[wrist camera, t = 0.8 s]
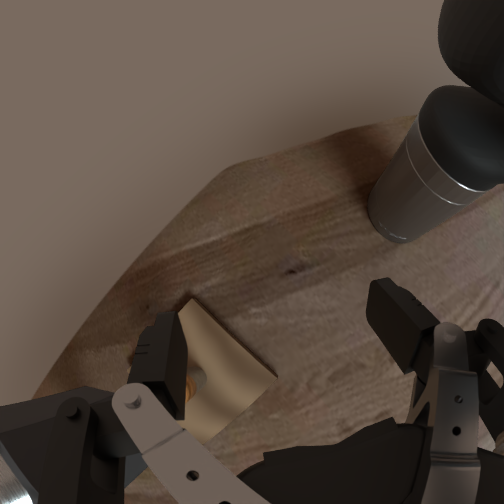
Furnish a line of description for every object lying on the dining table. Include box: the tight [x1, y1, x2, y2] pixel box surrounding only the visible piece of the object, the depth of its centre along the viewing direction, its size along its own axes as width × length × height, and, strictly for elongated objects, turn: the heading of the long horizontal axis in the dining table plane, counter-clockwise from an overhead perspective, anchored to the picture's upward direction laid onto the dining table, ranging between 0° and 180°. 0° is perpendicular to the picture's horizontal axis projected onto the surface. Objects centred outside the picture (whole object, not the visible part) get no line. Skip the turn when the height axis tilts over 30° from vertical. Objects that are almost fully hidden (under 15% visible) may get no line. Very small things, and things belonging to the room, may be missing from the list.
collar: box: [0, 386, 148, 504], centre depth 8 cm, size 6×6×9 cm
